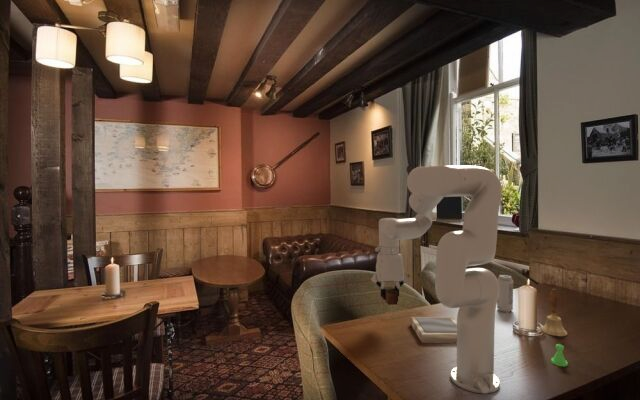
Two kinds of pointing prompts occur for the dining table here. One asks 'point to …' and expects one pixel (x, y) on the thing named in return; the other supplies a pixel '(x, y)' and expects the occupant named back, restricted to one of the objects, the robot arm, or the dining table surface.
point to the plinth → (435, 329)
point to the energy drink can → (505, 293)
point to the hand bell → (554, 318)
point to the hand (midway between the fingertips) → (389, 297)
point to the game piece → (559, 357)
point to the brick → (391, 296)
